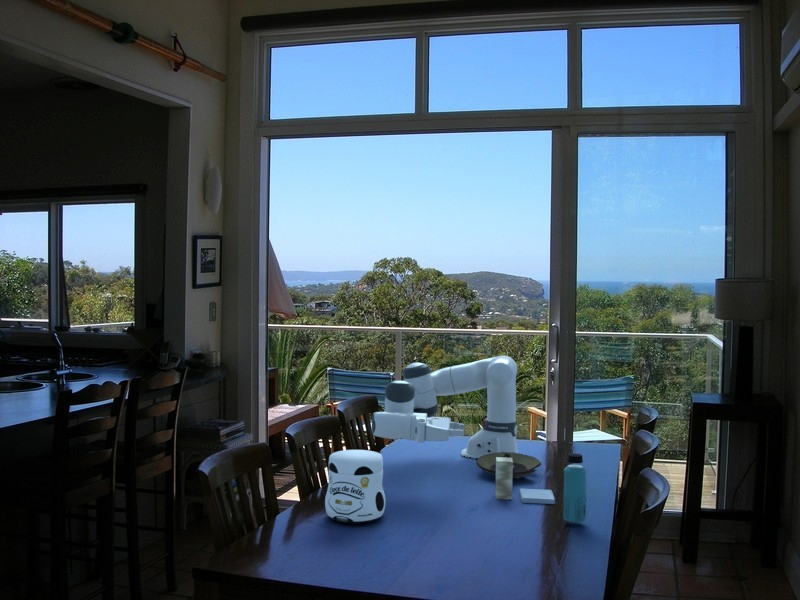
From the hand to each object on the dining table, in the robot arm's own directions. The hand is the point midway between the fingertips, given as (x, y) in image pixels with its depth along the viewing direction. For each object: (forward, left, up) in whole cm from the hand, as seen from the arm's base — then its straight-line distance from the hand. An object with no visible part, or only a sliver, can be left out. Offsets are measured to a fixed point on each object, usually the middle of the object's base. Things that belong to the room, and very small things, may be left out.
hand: (464, 429), depth 230 cm
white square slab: (+22, +7, -21) cm, 31 cm away
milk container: (-21, -35, -21) cm, 46 cm away
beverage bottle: (+37, -12, -21) cm, 44 cm away
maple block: (+12, +4, -21) cm, 25 cm away
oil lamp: (+6, +28, -21) cm, 36 cm away
